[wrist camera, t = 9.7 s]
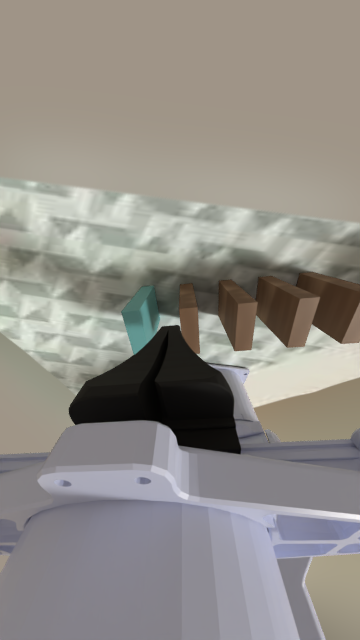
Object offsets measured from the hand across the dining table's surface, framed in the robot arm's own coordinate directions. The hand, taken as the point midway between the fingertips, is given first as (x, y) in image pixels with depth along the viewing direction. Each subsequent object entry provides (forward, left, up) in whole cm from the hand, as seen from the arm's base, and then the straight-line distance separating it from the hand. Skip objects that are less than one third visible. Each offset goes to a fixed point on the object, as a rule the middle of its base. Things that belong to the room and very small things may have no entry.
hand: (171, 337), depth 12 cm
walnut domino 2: (0, -6, -10) cm, 12 cm away
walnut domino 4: (+3, -16, -10) cm, 19 cm away
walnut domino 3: (+2, -11, -10) cm, 15 cm away
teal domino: (-2, +3, -10) cm, 11 cm away
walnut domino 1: (-1, -2, -10) cm, 11 cm away
